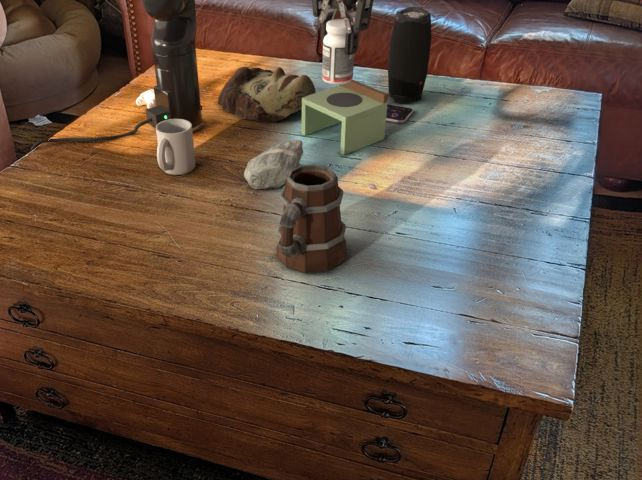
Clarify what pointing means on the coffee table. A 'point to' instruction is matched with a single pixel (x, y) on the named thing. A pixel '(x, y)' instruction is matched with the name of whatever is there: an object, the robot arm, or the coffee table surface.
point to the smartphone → (398, 113)
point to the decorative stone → (273, 165)
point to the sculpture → (264, 94)
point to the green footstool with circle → (347, 114)
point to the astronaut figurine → (147, 99)
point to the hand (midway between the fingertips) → (338, 48)
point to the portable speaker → (409, 54)
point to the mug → (311, 220)
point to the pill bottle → (336, 55)
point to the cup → (175, 146)
